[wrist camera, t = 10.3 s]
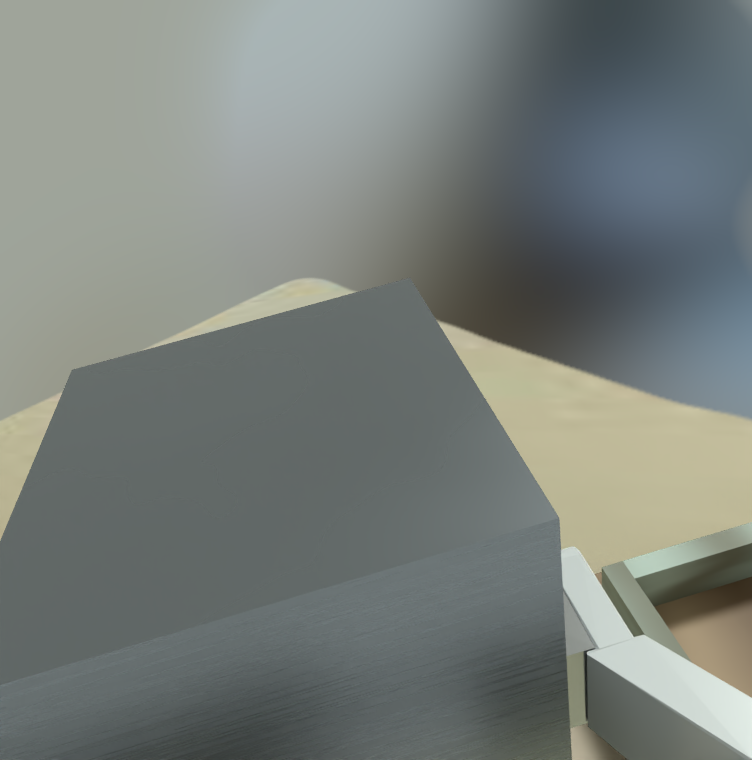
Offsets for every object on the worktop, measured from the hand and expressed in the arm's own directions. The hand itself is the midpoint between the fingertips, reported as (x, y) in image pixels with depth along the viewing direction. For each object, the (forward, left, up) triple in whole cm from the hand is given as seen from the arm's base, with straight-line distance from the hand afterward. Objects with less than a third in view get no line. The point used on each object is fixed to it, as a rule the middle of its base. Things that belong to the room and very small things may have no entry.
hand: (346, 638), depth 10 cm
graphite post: (0, -1, -6) cm, 6 cm away
